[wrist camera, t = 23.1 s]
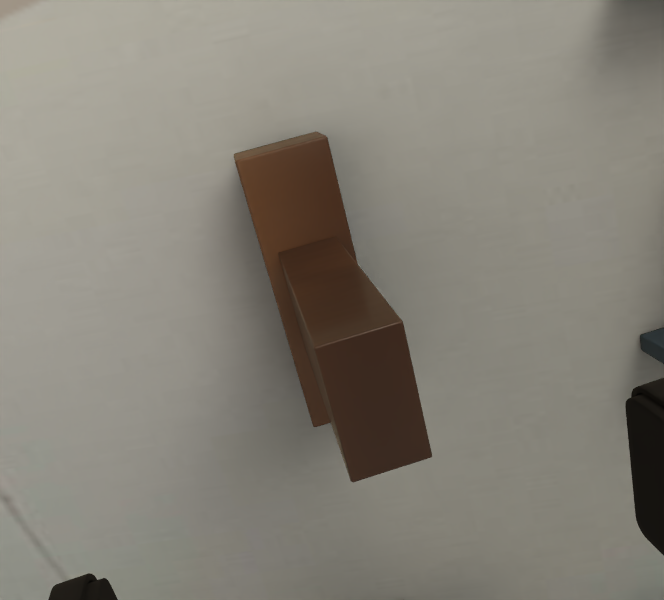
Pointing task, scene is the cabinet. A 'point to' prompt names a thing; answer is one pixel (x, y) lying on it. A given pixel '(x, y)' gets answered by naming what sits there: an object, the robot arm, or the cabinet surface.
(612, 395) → the cabinet surface
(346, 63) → the cabinet surface
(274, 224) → the brown l-shaped block
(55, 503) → the cabinet surface
